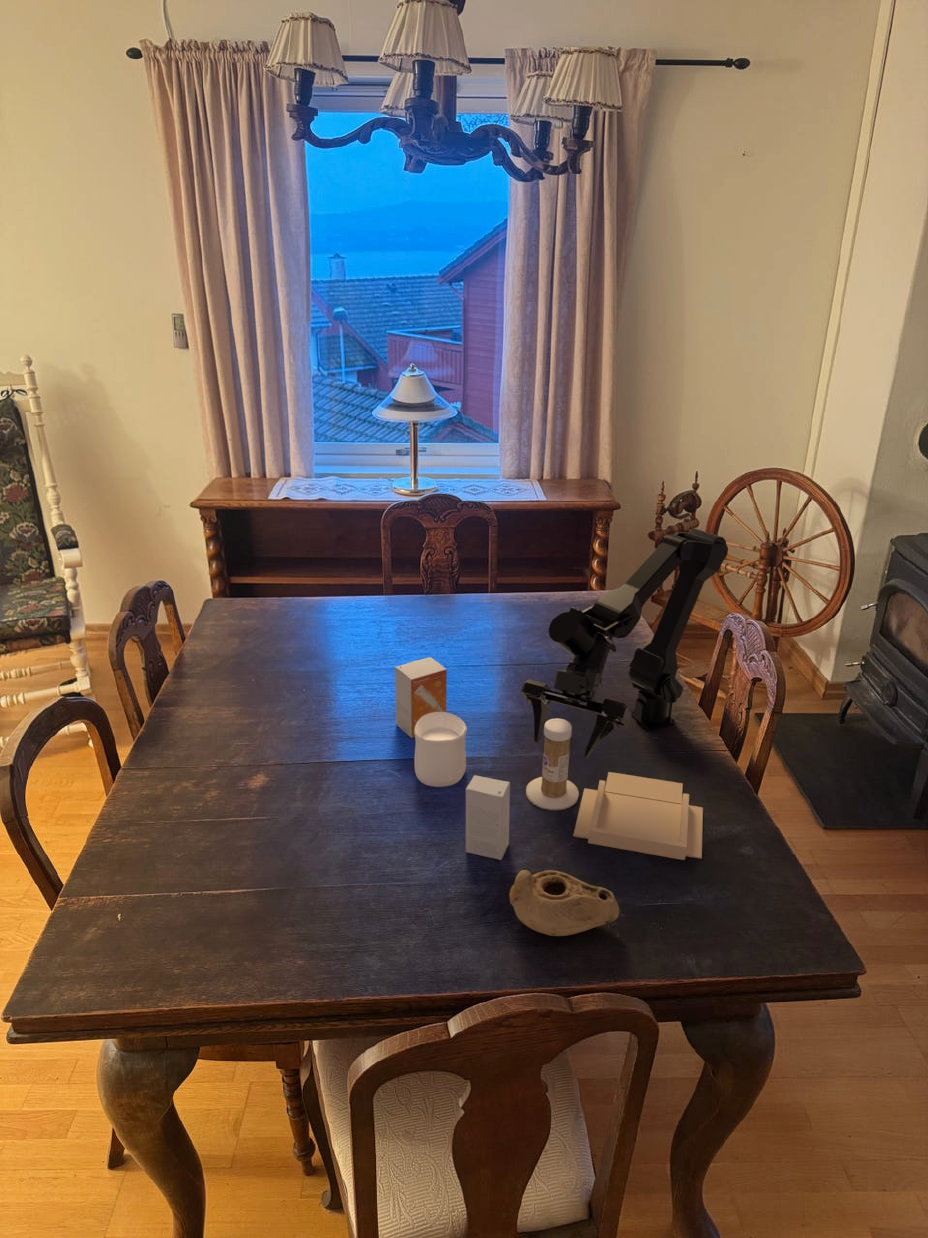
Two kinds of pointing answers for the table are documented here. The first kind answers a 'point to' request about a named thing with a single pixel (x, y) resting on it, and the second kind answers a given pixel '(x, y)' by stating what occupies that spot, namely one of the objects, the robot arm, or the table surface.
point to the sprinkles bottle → (556, 757)
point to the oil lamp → (560, 903)
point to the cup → (440, 749)
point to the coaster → (547, 802)
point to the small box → (419, 692)
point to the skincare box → (487, 817)
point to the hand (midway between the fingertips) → (560, 749)
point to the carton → (641, 817)
